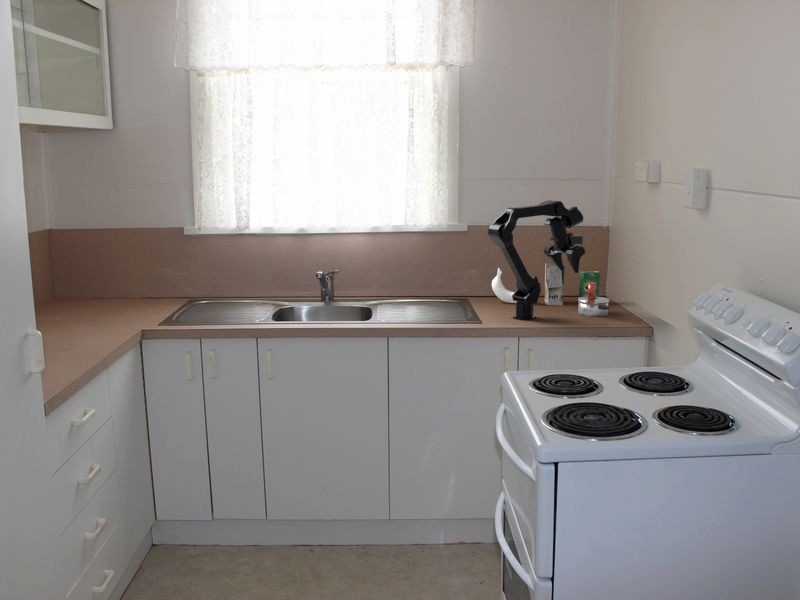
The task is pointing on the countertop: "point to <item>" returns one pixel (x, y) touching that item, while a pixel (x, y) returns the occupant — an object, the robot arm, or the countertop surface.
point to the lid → (592, 296)
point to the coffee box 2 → (589, 278)
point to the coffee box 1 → (554, 284)
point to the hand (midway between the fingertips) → (569, 271)
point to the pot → (593, 309)
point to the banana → (501, 289)
